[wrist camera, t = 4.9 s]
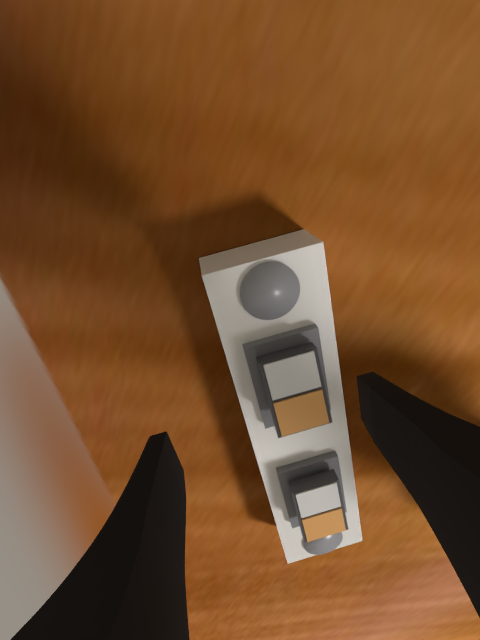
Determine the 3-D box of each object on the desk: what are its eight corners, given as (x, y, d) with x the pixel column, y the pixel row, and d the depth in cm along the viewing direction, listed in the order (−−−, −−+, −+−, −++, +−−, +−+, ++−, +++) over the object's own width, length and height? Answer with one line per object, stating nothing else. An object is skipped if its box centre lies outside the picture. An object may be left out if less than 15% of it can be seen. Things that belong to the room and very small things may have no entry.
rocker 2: (343, 517, 25) (349, 530, 24) (300, 530, 25) (304, 543, 24) (333, 468, 23) (339, 480, 22) (288, 482, 23) (292, 494, 22)
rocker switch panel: (346, 506, 31) (365, 547, 28) (278, 527, 31) (289, 570, 28) (304, 229, 20) (326, 244, 17) (198, 258, 20) (202, 279, 17)
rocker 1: (326, 413, 20) (333, 423, 19) (274, 428, 20) (278, 439, 19) (311, 341, 19) (317, 348, 18) (256, 357, 19) (259, 365, 18)
